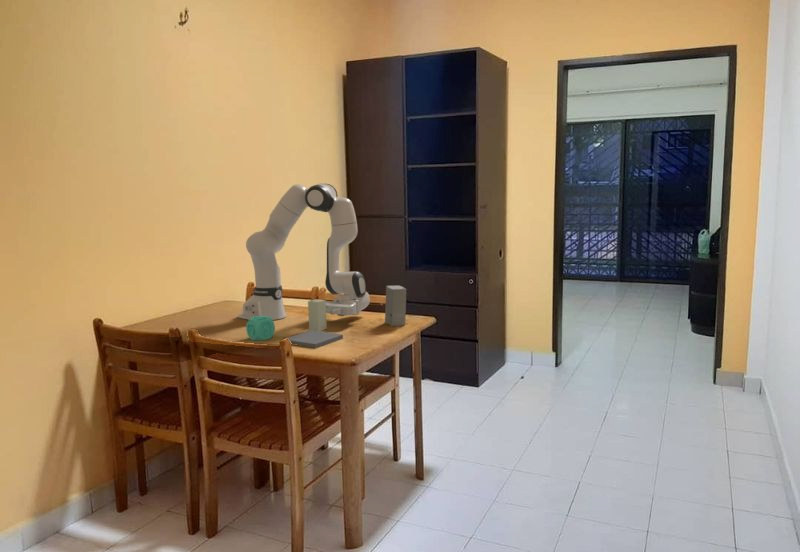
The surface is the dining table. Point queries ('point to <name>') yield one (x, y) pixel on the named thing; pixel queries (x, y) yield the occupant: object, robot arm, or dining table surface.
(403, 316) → the skincare box
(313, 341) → the slate board
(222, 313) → the dining table surface
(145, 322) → the dining table surface
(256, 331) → the decorative dice
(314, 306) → the sage block
